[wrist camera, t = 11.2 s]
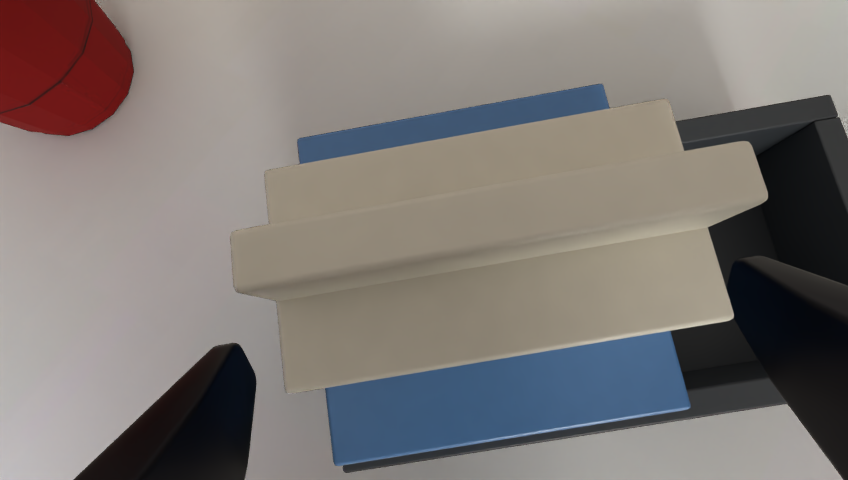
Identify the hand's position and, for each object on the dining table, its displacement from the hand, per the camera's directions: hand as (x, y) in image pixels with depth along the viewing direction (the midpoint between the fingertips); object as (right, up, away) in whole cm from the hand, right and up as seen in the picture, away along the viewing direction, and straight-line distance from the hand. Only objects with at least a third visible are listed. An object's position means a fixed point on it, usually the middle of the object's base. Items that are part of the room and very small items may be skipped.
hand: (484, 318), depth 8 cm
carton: (0, -1, +9) cm, 9 cm away
